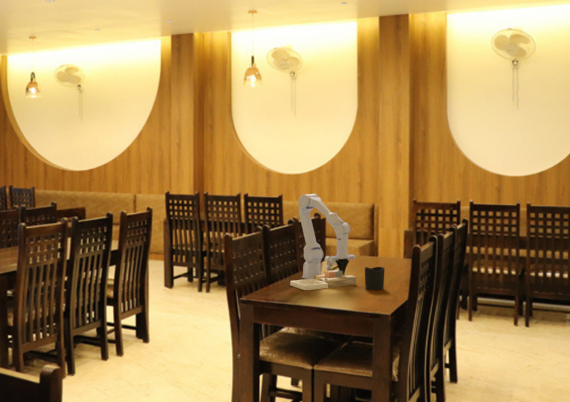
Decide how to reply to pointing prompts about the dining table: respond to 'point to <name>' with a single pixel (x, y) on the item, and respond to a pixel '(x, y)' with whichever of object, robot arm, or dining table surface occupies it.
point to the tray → (309, 284)
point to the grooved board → (337, 280)
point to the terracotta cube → (330, 274)
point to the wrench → (329, 263)
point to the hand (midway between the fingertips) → (342, 274)
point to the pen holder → (374, 278)
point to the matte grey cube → (338, 273)
